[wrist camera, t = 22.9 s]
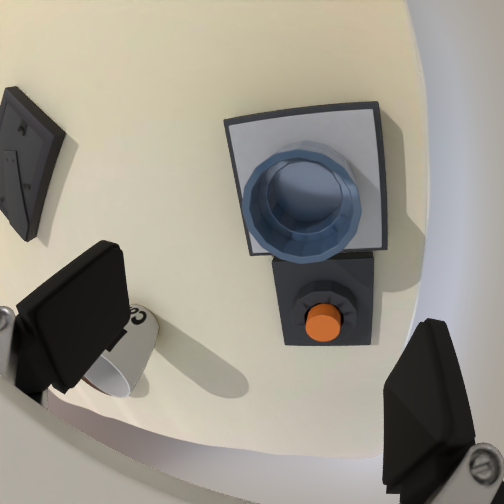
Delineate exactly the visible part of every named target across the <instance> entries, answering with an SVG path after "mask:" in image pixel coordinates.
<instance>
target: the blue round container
mask: <svg viewBox="0 0 504 504" xmlns="http://www.w3.org/2000/svg"><path fill="white" fill-rule="evenodd" d="M242 211H243V215H244V218H245V221H246V225H247V228H248V230H249V232H250V233H251V234H252V236H253V237H254V238H255V240H256V241H257V242H258V243H259V245H260V246H261V247H262V248H263V249H265V250H267V251H268V252H270V253H271V254H273V255H274V256H276V257H278V258H279V259H282V260H286V261H291V262H295V263H299V264H301V263H302V264H305V263H313V262H321V261H324V260H326V259H328V258H330V257H332V256H334V255H336V254H337V253H339V252H341V251H342V250H343V249H344V248H345V247H346V246H347V245H348V243H349V242H350V241H351V240H352V238H353V237H354V236H355V235H356V233H357V229H358V225H359V221H360V218H361V214H362V209H361V202H360V196H359V190H358V186H357V181H356V177H355V174H354V171H353V170H352V168H351V167H350V165H349V164H348V162H347V161H346V159H345V158H344V156H343V155H341V154H340V153H339V152H337V151H336V150H334V149H333V148H331V147H330V146H328V145H326V144H322V143H317V142H312V141H300V142H295V143H290V144H287V145H285V146H283V147H282V148H280V149H279V150H277V151H276V152H275V153H273V154H272V155H271V156H269V157H268V158H267V159H265V160H264V161H263V162H262V163H260V164H259V165H258V166H256V168H255V169H254V171H253V172H252V174H251V176H250V177H249V179H248V181H247V183H246V184H245V187H244V192H243V201H242Z"/></svg>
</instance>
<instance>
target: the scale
mask: <svg viewBox="0 0 504 504" xmlns="http://www.w3.org/2000/svg"><path fill="white" fill-rule="evenodd" d="M223 121H224V126H225V132H226V137H227V142H228V147H229V152H230V157H231V162H232V167H233V173H234V178H235V183H236V188H237V193H238V198H239V203H240V208H241V213H242V218H243V223H244V229H245V234H246V239H247V244H248V249H249V254H250V256H260V255H273V254H271V253H270V252H268V251H267V250H265V249H263V248H262V247H261V246H260V245H259V243H258V242H257V241H256V240H255V238H254V237H253V236H252V234H251V233H250V232H249V230H248V228H247V225H246V221H245V218H244V215H243V211H242V201H243V192H244V187H245V184H246V183H247V181H248V179H249V177H250V176H251V174H252V172H253V171H254V169H255V168H256V166H258V165H259V164H260V163H262V162H263V161H264V160H265V159H267V158H268V157H269V156H271V155H272V154H273V153H275V152H276V151H277V150H279V149H280V148H282V147H283V146H285V145H287V144H290V143H295V142H300V141H312V142H317V143H322V144H326V145H328V146H330V147H331V148H333V149H334V150H336V151H337V152H339V153H340V154H341V155H343V156H344V158H345V159H346V161H347V162H348V164H349V165H350V167H351V168H352V170H353V171H354V174H355V177H356V181H357V186H358V190H359V196H360V202H361V209H362V214H361V218H360V221H359V225H358V229H357V233H356V235H355V236H354V237H353V238H352V240H351V241H350V242H349V243H348V245H347V246H346V247H345V248H344V249H343V250H342V251H341V252H352V251H375V250H387V245H388V228H387V191H386V172H385V158H384V147H383V136H382V127H381V118H380V110H379V103H378V101H372V102H353V103H339V104H328V105H317V106H308V107H299V108H291V109H284V110H277V111H270V112H264V113H257V114H251V115H246V116H240V117H235V118H229V119H224V120H223Z"/></svg>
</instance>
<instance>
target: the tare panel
mask: <svg viewBox="0 0 504 504" xmlns="http://www.w3.org/2000/svg"><path fill="white" fill-rule="evenodd" d="M272 268H273V274H274V280H275V286H276V292H277V298H278V305H279V311H280V317H281V324H282V330H283V336H284V343H285V345H296V346H348V345H370V344H371V329H372V311H373V282H374V257H373V252H359V253H337V254H336V255H334V256H332V257H330V258H328V259H326V260H324V261H321V262H313V263H305V264H302V263H301V264H299V263H295V262H291V261H286V260H282V259H279V258H278V257H276V256H274V258H273V260H272ZM321 303H326V304H331V305H333V306H335V307H336V308H337V309H338V310H339V312H340V315H341V322H340V332H339V334H338V336H337V337H336V338H334V339H332V340H330V341H324V342H322V341H317V340H314V339H312V338H311V337H310V336H309V335H308V334H307V332H306V322H307V317H308V313H309V310H310V309H311V308H312V307H313V306H315V305H317V304H321Z"/></svg>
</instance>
